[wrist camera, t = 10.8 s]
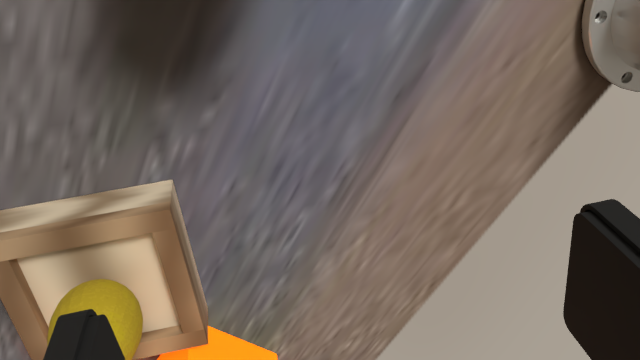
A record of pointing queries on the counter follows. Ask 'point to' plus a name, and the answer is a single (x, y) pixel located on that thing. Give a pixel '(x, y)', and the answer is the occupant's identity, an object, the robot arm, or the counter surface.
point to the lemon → (106, 310)
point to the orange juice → (221, 349)
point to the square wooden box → (104, 263)
